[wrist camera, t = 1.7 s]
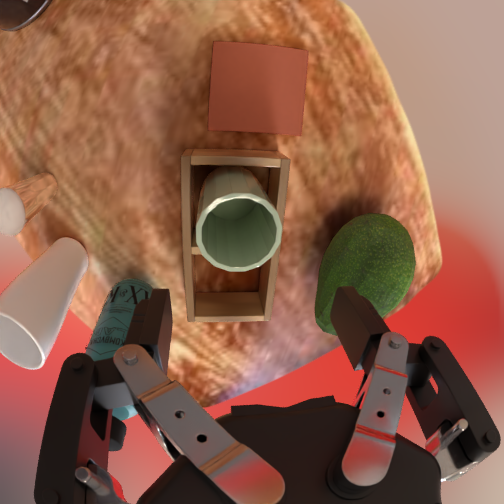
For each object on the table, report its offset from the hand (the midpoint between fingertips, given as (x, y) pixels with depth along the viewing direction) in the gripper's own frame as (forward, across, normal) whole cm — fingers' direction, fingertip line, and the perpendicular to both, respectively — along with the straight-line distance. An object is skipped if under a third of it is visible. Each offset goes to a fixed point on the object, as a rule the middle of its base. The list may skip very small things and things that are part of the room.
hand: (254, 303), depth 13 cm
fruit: (+18, -14, +8) cm, 24 cm away
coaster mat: (+18, -2, -11) cm, 21 cm away
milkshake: (+18, +21, -2) cm, 28 cm away
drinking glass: (+18, +19, +7) cm, 27 cm away
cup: (+18, 0, 0) cm, 18 cm away
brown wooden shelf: (+18, 0, +4) cm, 18 cm away
